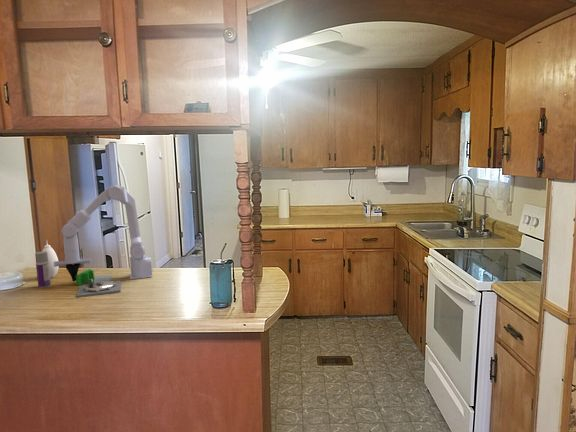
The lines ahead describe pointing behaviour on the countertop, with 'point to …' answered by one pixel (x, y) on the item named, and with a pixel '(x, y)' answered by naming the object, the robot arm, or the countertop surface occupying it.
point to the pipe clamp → (84, 277)
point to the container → (42, 269)
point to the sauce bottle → (51, 259)
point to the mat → (102, 278)
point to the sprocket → (99, 285)
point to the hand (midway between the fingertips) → (74, 280)
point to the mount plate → (114, 289)
